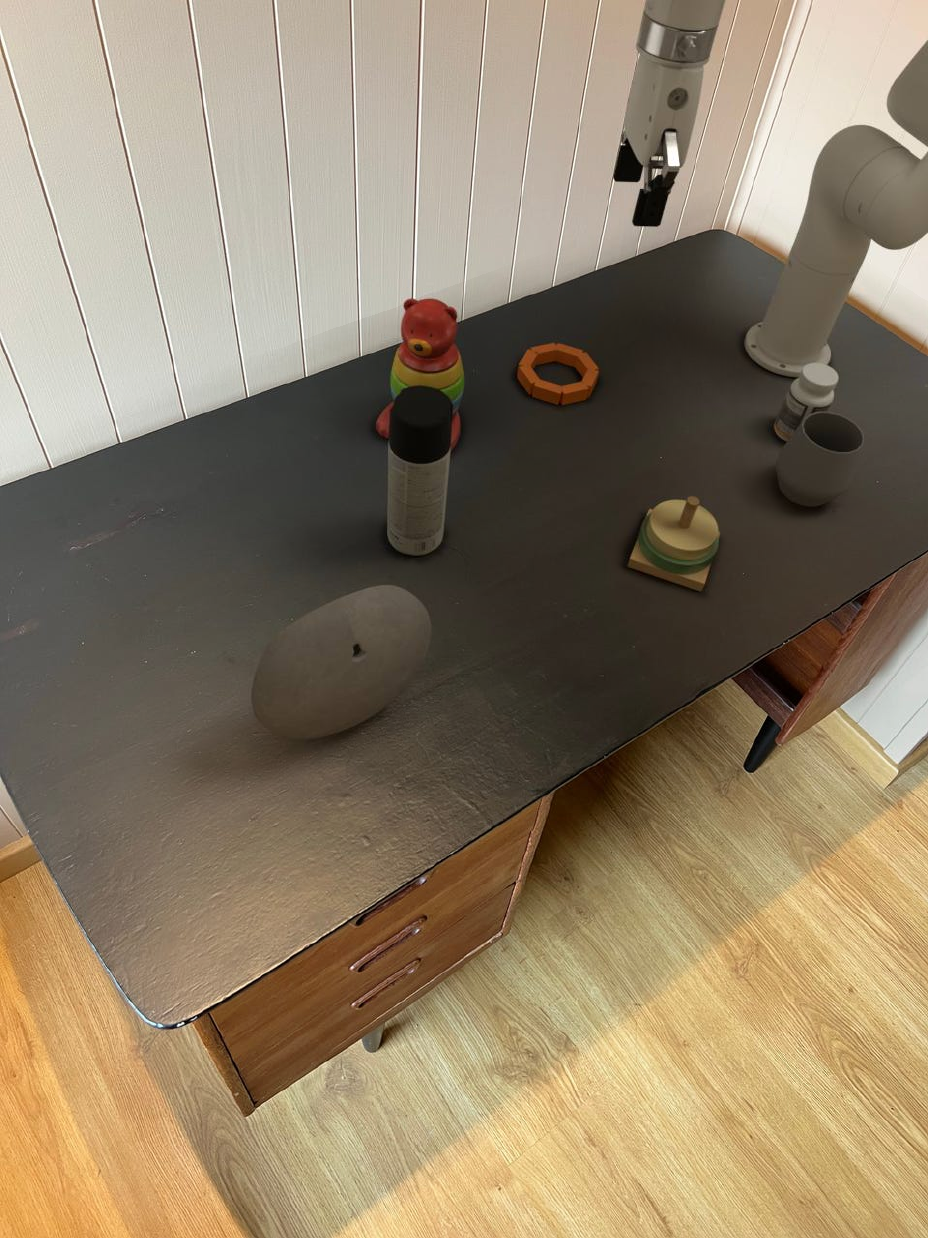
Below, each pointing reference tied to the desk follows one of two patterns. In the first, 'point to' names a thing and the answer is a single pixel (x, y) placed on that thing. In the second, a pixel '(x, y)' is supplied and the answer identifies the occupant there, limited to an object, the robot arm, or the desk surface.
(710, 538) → the stacker
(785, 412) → the pill bottle
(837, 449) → the cup
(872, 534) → the desk surface
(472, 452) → the desk surface
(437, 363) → the stacking bear
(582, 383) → the orange ring
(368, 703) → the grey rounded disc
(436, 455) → the spray can
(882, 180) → the robot arm
